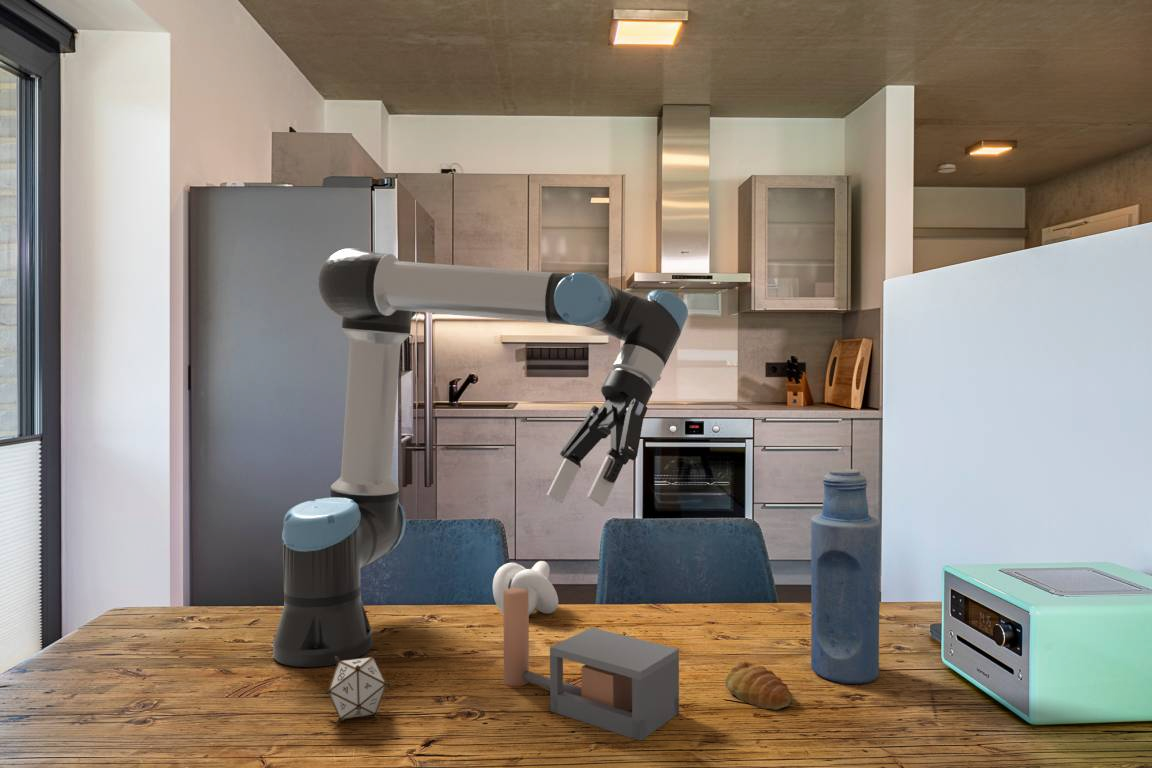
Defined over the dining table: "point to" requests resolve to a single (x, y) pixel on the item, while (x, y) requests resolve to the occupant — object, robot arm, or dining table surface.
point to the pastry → (757, 686)
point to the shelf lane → (626, 656)
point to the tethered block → (516, 673)
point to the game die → (356, 687)
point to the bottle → (845, 582)
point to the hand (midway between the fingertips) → (573, 500)
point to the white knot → (527, 585)
